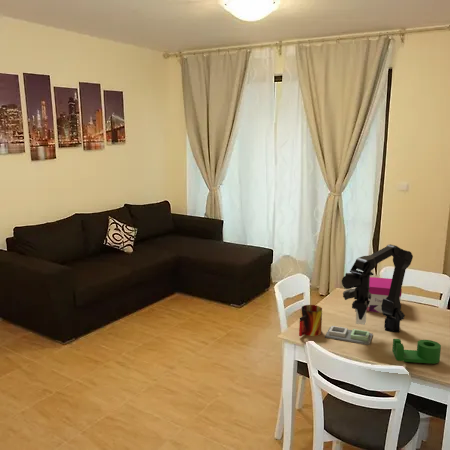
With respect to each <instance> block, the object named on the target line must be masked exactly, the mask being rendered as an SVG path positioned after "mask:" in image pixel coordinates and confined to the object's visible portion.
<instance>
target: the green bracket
mask: <svg viewBox="0 0 450 450" xmlns="http://www.w3.org/2000/svg"><path fill="white" fill-rule="evenodd" d="M441 348H442V345H441V344H440V343H439V342H437V341H434V340H432V339H431V340H430V339H419V340H418V341H417V344H416V350H415V349H405V346H404V344H403V343H402V341H401V338H393V339H392V353H393V355H394V357H395V360H396V361H398V362H404V363H405V362H406V363H419V364H438V363H440V361H441V360H440V359H441V351H442V350H441Z"/></svg>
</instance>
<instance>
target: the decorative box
mask: <svg viewBox="0 0 450 450" xmlns="http://www.w3.org/2000/svg"><path fill="white" fill-rule="evenodd" d="M391 282H392V278H388V277H387V278H385V277H384V278H383V277H375V276H374V277H373V276H370V283H369V287H370V289H369V292H370V293H371V299H368V300H369V301H370V303H369V305H368V308H367V310H366V312H372V313H381V314H383V312H382V309H381V308H382V307H381V305H382V300H383V299H386V298H387V297H388V295H389V291H390V286H391ZM402 293H403V292H402V288H401V292H400V297H399V300H400V301H401V297H402Z"/></svg>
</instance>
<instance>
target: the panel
mask: <svg viewBox="0 0 450 450" xmlns="http://www.w3.org/2000/svg"><path fill="white" fill-rule="evenodd" d="M373 335H374V334H373V333H371V332H370V331H368V330H362V329H356V328H354V329H348V327H344V326H343V327H342V326H336V325H331V326H329V328H328V329H327V332H326V333H325V335H324V338H326V339H331V340H336V341H337V340H338V341H341V342H342V341H343V342H349V343H354V344H355V343H356V344H361V345H366V346H370V344H371V341H372V338H373Z"/></svg>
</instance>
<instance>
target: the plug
mask: <svg viewBox="0 0 450 450" xmlns="http://www.w3.org/2000/svg"><path fill="white" fill-rule="evenodd" d="M354 312H355V325H362V326H365V325H366V324H367V311H366V312H365V314H364V316H363V318H362V320H360V319H359V316H358V312H357V309H354Z"/></svg>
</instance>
